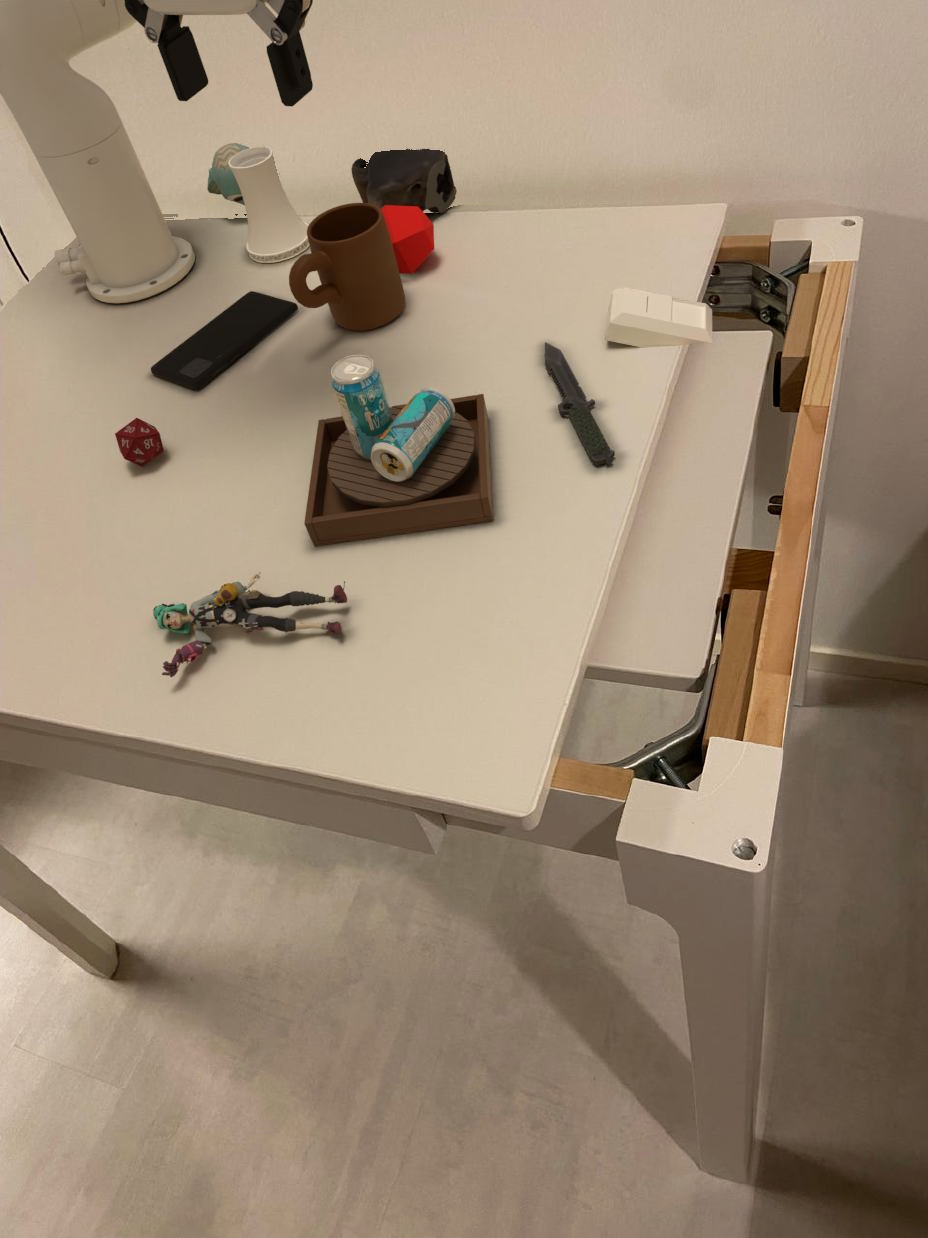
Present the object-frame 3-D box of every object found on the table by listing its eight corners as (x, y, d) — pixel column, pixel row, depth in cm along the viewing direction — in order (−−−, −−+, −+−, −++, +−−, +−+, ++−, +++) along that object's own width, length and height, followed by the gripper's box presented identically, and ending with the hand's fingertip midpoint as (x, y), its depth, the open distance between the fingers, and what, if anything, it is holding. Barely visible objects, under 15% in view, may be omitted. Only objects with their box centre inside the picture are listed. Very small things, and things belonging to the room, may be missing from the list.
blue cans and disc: (377, 396, 80) (353, 314, 75) (502, 420, 75) (486, 334, 69) (299, 488, 74) (266, 407, 68) (429, 521, 69) (405, 436, 63)
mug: (344, 366, 89) (314, 275, 82) (288, 348, 93) (255, 260, 86) (422, 298, 94) (400, 207, 87) (366, 284, 98) (341, 195, 91)
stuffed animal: (242, 240, 121) (199, 220, 109) (222, 185, 120) (177, 158, 108) (317, 208, 118) (281, 183, 107) (297, 150, 117) (259, 119, 106)
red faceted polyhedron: (452, 268, 99) (384, 297, 101) (432, 206, 99) (364, 237, 101) (436, 247, 92) (362, 279, 94) (414, 181, 92) (341, 214, 94)
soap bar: (608, 307, 86) (615, 281, 83) (705, 326, 86) (715, 301, 83) (604, 339, 83) (612, 314, 80) (705, 360, 83) (715, 334, 80)
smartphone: (251, 294, 101) (149, 374, 94) (248, 287, 100) (146, 367, 93) (301, 308, 97) (199, 392, 90) (298, 300, 96) (196, 385, 90)
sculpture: (351, 250, 96) (272, 222, 102) (369, 296, 101) (292, 267, 106) (471, 129, 102) (390, 109, 108) (481, 177, 107) (404, 156, 113)
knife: (625, 453, 73) (587, 464, 73) (625, 462, 73) (588, 472, 73) (558, 333, 85) (526, 342, 85) (559, 341, 85) (528, 350, 85)
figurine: (140, 678, 65) (165, 696, 68) (342, 616, 64) (358, 638, 67) (135, 590, 68) (158, 611, 72) (327, 530, 67) (342, 554, 70)
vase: (322, 226, 108) (294, 137, 101) (300, 261, 104) (270, 171, 96) (263, 229, 110) (231, 142, 103) (239, 264, 106) (205, 176, 98)
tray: (313, 546, 74) (304, 523, 72) (326, 442, 82) (318, 419, 80) (493, 521, 72) (487, 496, 70) (488, 417, 80) (483, 393, 78)
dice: (118, 472, 85) (97, 438, 82) (148, 440, 87) (129, 405, 84) (150, 479, 83) (130, 444, 80) (180, 447, 85) (161, 411, 82)
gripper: (299, -238, 55) (369, 75, 68) (84, -210, 62) (185, 70, 75) (225, -200, 51) (314, 125, 64) (4, -175, 58) (126, 114, 71)
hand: (245, 95), depth 69 cm, fingers open, 9 cm apart
